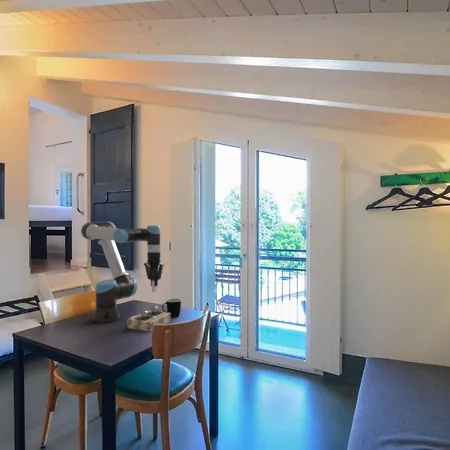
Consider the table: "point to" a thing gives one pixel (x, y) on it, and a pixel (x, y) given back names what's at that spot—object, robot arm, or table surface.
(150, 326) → the socket block
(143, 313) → the peg near
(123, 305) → the table surface
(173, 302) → the mug
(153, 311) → the peg far
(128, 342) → the table surface
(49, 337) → the table surface
